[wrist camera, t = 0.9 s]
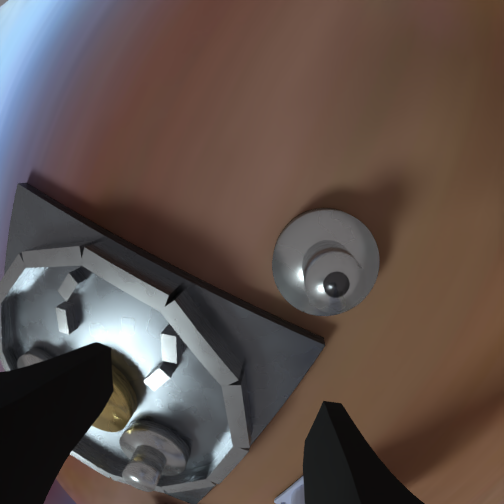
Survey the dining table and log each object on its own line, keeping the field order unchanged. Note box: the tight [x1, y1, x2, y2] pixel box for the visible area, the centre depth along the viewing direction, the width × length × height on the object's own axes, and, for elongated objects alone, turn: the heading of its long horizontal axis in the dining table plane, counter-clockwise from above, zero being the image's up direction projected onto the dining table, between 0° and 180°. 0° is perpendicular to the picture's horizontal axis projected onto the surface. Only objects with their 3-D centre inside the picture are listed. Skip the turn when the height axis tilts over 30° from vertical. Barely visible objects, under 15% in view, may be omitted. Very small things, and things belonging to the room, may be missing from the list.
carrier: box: [0, 183, 325, 504], centre depth 19 cm, size 25×25×6 cm
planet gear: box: [272, 208, 379, 316], centre depth 15 cm, size 6×6×5 cm
